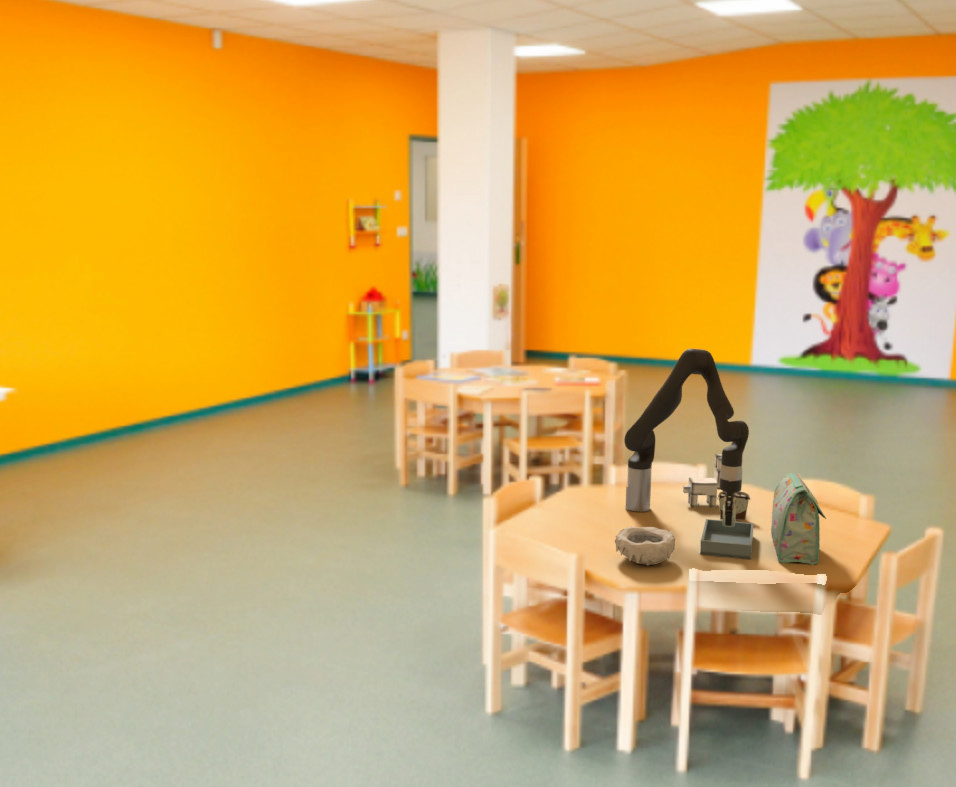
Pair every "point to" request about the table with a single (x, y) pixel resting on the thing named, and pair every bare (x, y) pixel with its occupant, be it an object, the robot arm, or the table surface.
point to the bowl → (645, 544)
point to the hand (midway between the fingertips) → (728, 522)
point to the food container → (736, 504)
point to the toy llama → (705, 486)
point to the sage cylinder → (732, 517)
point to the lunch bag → (795, 522)
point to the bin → (727, 539)
